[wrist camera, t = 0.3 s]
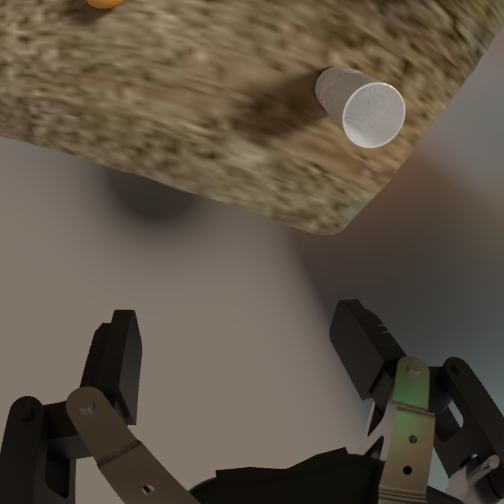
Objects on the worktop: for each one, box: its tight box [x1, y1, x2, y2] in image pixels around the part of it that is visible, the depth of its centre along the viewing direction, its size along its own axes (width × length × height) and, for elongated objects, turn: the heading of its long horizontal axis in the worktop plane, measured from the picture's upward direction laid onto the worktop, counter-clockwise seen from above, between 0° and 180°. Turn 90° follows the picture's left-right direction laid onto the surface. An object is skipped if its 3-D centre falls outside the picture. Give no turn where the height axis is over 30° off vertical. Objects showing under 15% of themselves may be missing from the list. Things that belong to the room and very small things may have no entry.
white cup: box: [315, 66, 405, 148], centre depth 30 cm, size 8×8×10 cm
